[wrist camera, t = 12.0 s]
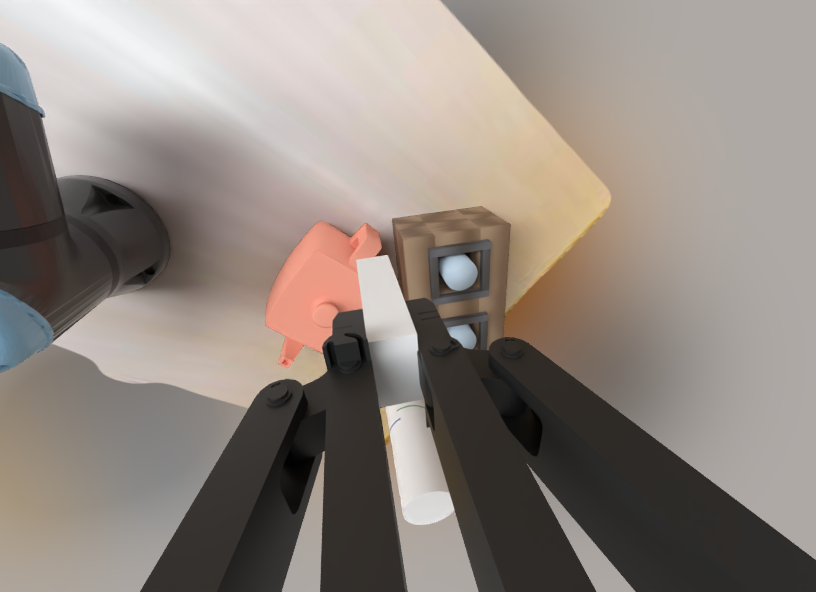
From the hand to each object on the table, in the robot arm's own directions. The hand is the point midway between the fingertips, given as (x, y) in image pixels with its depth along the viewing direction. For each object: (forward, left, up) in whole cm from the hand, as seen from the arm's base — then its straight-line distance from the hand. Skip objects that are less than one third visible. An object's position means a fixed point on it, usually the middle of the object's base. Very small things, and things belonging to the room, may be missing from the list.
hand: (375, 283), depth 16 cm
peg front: (+12, -12, -32) cm, 36 cm away
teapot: (-6, -14, -35) cm, 38 cm away
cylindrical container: (+3, -38, -34) cm, 51 cm away
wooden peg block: (+12, -18, -34) cm, 40 cm away
